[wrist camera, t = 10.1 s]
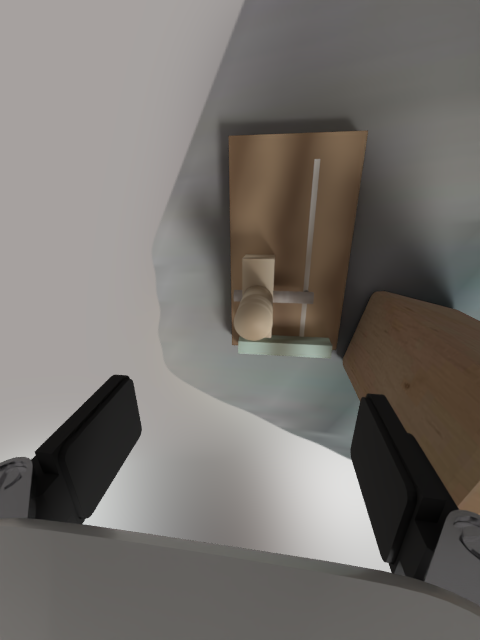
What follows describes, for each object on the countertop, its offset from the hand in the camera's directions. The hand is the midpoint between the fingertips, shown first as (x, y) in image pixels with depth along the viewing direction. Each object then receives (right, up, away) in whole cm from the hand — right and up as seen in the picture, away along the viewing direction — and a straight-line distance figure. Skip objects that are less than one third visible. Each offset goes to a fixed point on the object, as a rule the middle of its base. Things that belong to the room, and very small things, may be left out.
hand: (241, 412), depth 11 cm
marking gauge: (+4, +7, +18) cm, 19 cm away
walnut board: (+5, +11, +18) cm, 22 cm away
